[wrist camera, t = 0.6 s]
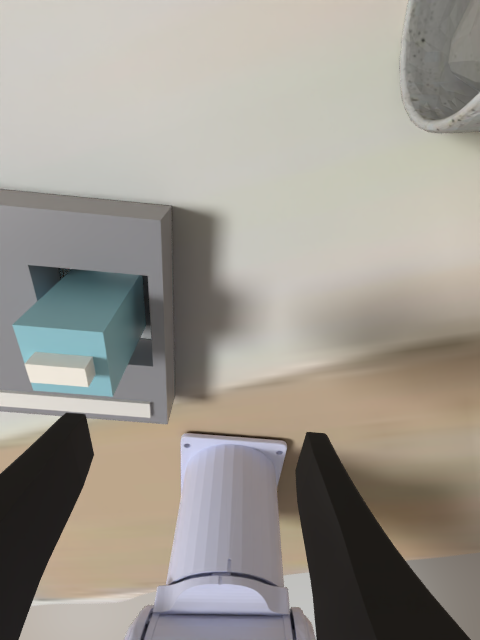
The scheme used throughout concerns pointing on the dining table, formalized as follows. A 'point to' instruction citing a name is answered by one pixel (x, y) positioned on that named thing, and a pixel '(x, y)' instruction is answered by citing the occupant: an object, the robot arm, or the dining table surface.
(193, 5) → the dining table surface
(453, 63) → the ceramic mug
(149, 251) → the panel
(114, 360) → the plug
